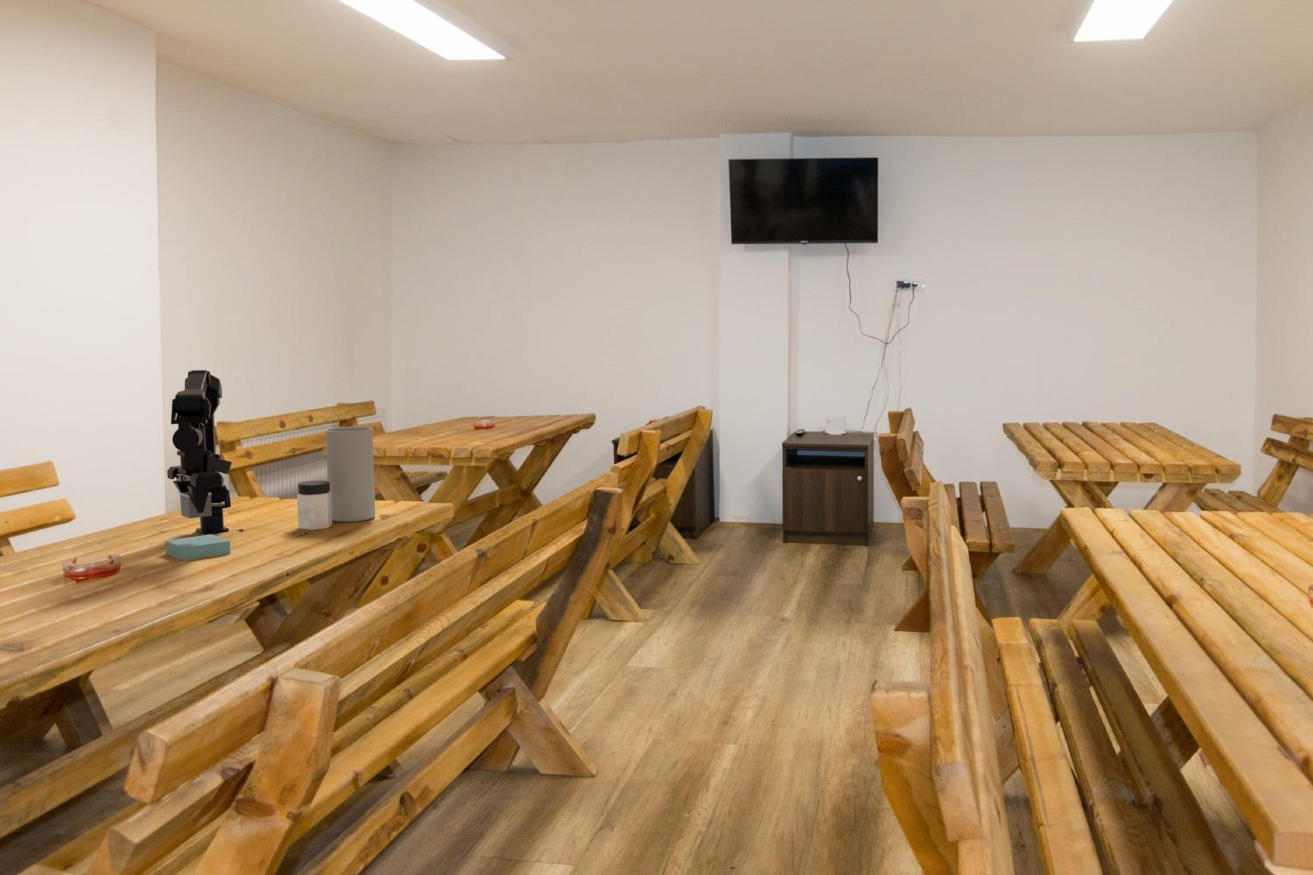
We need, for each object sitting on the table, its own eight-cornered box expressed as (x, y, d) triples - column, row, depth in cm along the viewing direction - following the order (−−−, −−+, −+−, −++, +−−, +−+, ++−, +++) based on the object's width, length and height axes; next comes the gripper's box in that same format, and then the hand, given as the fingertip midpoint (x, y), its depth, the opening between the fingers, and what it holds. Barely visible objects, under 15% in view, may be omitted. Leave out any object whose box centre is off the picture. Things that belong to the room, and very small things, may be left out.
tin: (180, 515, 261) (179, 492, 260) (203, 512, 265) (202, 489, 264) (189, 518, 257) (188, 495, 257) (212, 515, 261) (211, 492, 260)
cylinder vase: (383, 515, 310) (380, 427, 307) (361, 523, 298) (358, 432, 295) (343, 513, 313) (340, 426, 310) (320, 521, 300) (316, 431, 298)
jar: (302, 531, 287) (301, 486, 286) (294, 526, 294) (292, 482, 293) (336, 527, 292) (335, 483, 291) (327, 522, 299) (325, 479, 298)
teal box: (166, 555, 262) (165, 540, 262) (212, 548, 270) (211, 534, 269) (183, 562, 254) (182, 547, 254) (230, 555, 262) (229, 540, 262)
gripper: (242, 447, 258) (245, 512, 260) (211, 440, 271) (214, 502, 273) (194, 451, 250) (198, 518, 252) (164, 444, 264) (168, 507, 266)
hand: (196, 511), depth 261 cm, fingers closed on tin, 5 cm apart
